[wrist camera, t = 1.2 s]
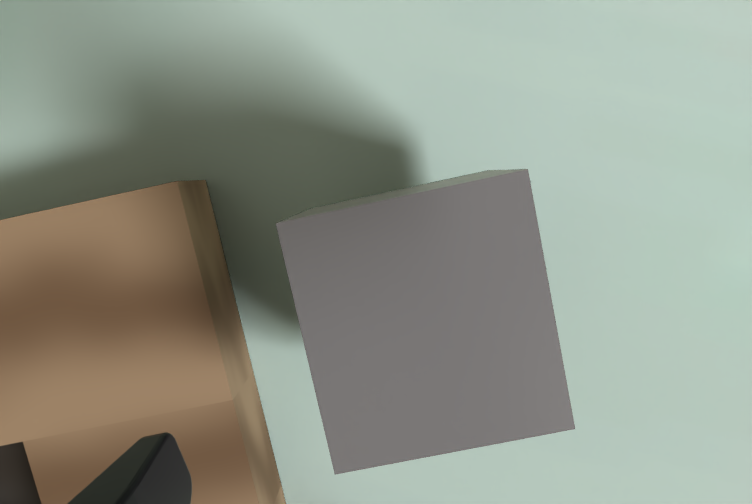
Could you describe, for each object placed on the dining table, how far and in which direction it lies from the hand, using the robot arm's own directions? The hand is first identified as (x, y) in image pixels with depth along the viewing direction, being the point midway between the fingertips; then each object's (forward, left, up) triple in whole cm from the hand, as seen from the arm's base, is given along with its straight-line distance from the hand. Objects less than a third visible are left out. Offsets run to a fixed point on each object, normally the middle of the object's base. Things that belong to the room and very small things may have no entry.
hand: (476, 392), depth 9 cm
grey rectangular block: (0, 0, -14) cm, 14 cm away
